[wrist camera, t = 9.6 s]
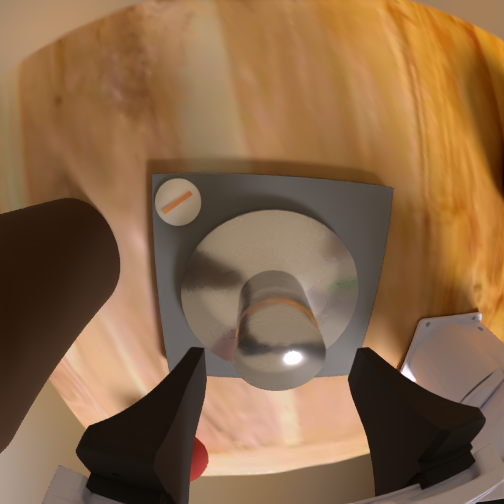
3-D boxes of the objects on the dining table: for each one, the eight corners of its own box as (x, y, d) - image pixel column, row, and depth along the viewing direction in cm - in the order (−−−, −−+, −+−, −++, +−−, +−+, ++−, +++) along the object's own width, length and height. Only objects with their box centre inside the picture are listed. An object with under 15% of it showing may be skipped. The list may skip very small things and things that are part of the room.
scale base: (385, 186, 18) (396, 188, 16) (349, 366, 23) (354, 377, 21) (157, 173, 18) (149, 174, 16) (172, 363, 23) (168, 375, 21)
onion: (167, 441, 27) (155, 493, 19) (155, 414, 25) (137, 471, 18) (213, 445, 27) (208, 500, 19) (207, 418, 25) (198, 481, 18)
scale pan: (367, 215, 17) (371, 217, 16) (338, 361, 21) (340, 367, 20) (180, 205, 17) (177, 207, 16) (189, 359, 21) (187, 365, 20)
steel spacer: (309, 271, 18) (334, 322, 12) (300, 329, 19) (316, 389, 13) (240, 268, 17) (235, 319, 12) (237, 327, 19) (233, 389, 13)
